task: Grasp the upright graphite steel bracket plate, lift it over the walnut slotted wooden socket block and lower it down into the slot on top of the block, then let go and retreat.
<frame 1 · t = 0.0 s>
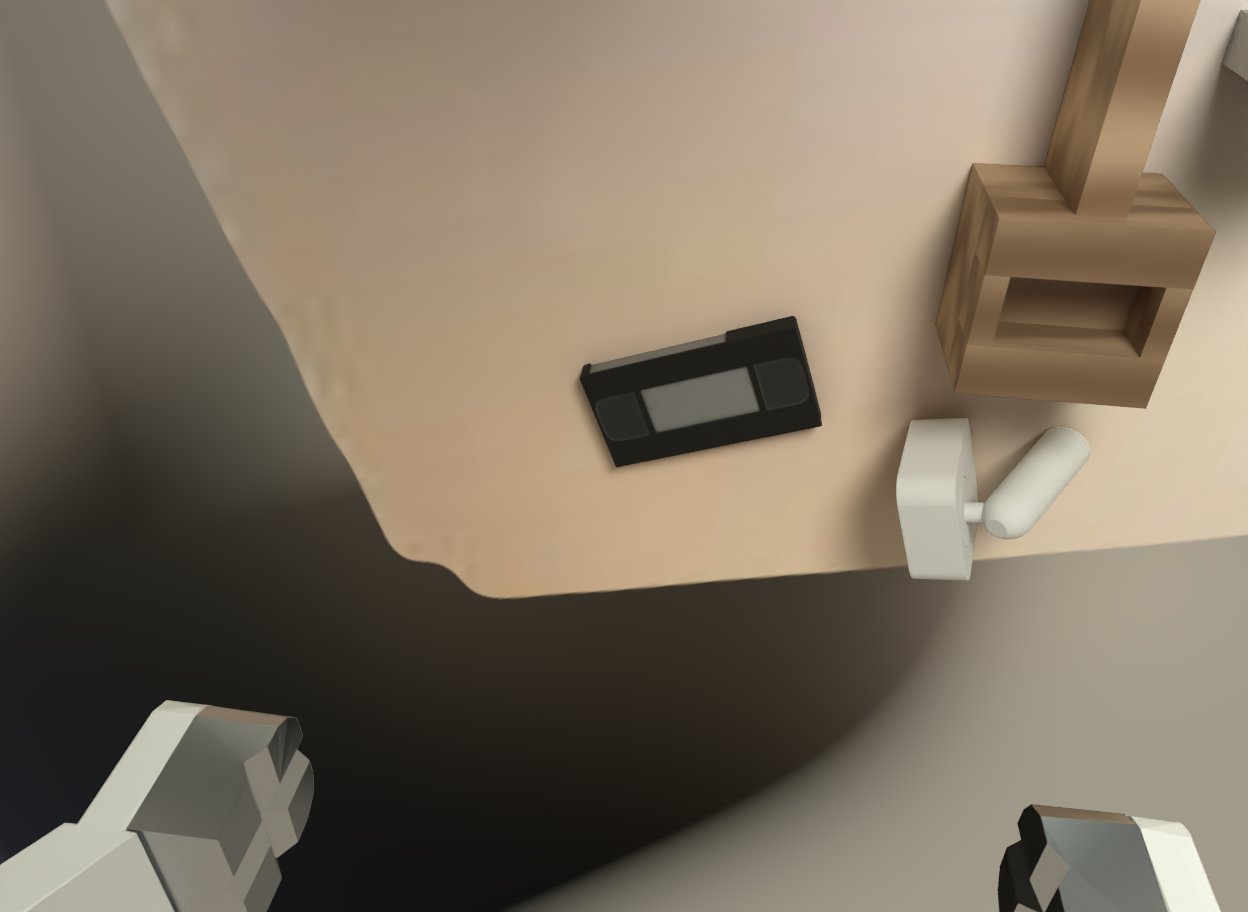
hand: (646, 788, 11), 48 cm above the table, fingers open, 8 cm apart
slotted wooden socket block: (1041, 253, 56), on the table
wall hook: (984, 448, 64), on the table
vhs tape: (702, 383, 64), on the table
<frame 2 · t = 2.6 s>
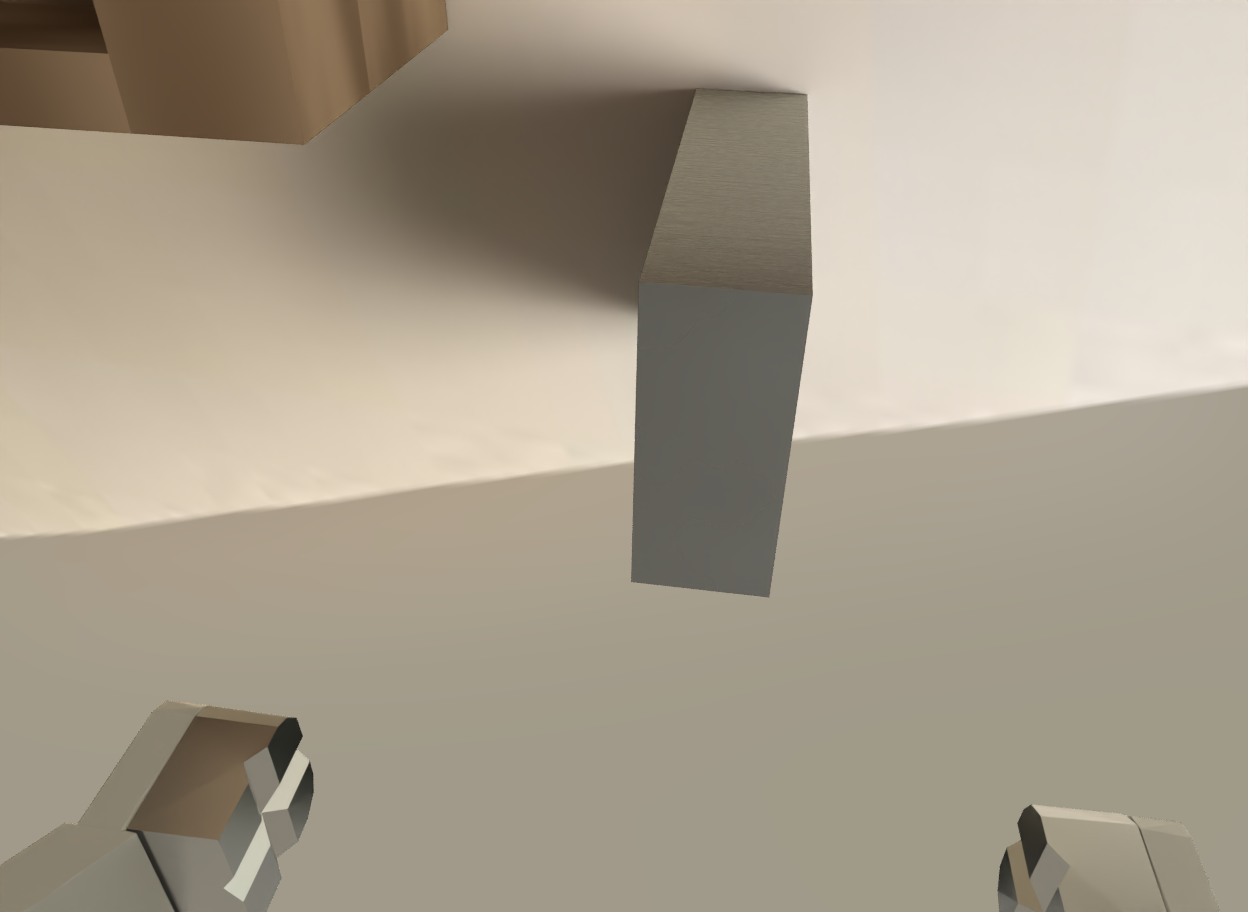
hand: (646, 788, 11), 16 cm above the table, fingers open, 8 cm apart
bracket: (740, 217, 24), on the table
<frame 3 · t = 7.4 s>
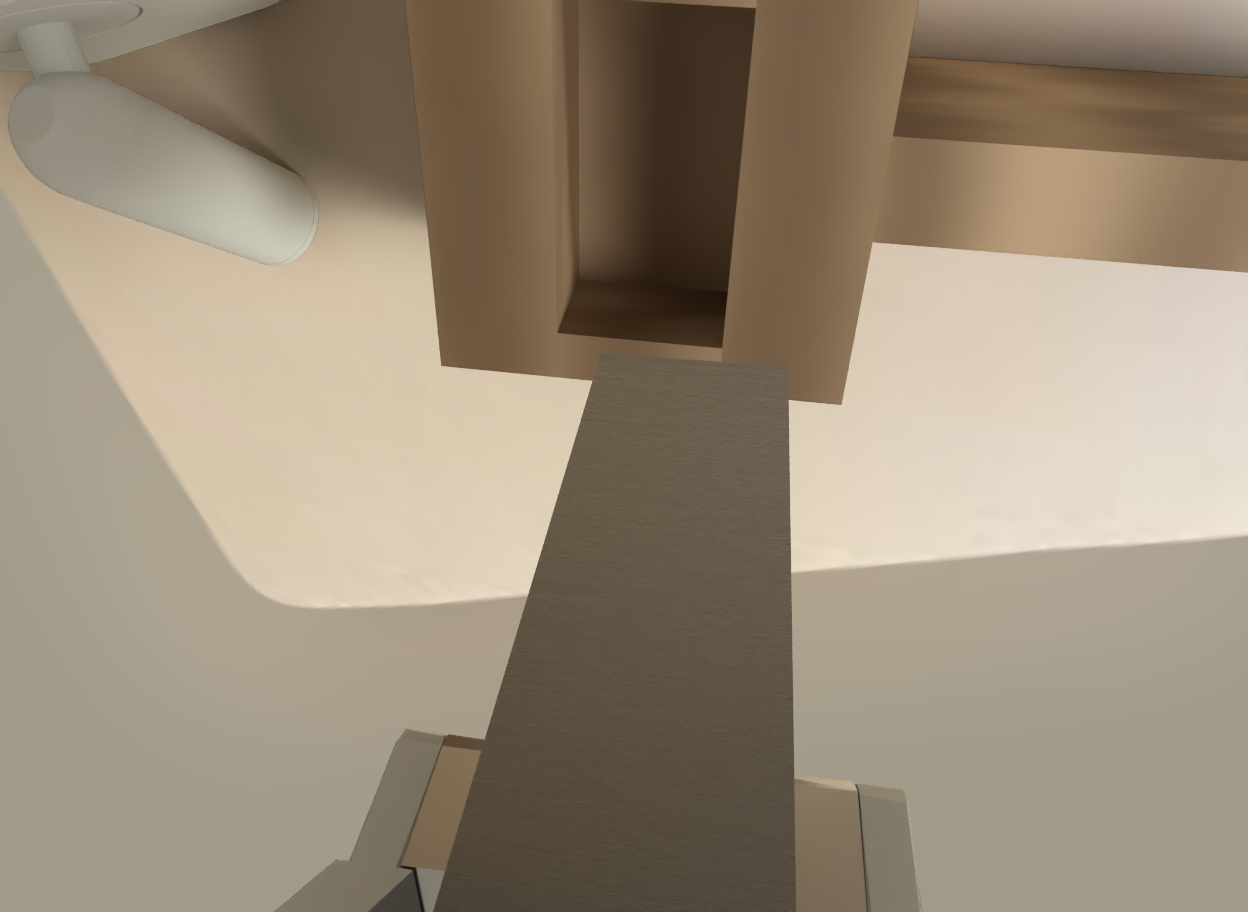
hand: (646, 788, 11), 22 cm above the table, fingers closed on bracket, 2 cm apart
slotted wooden socket block: (679, 87, 27), on the table
wall hook: (217, 53, 29), on the table
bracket: (682, 531, 15), point 17 cm above the table, touching gripper
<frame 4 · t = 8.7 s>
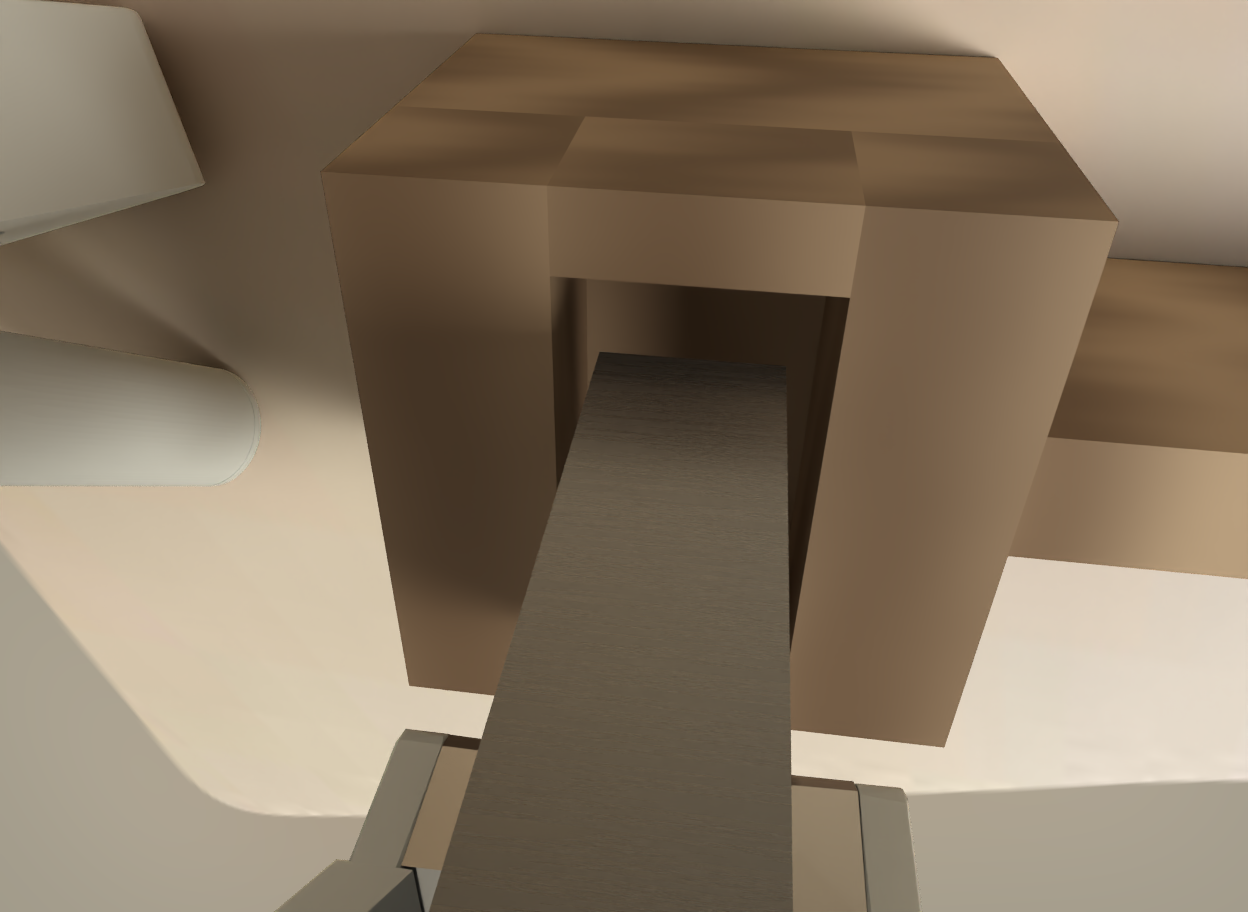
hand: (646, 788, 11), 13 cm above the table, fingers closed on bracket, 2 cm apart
slotted wooden socket block: (712, 283, 21), on the table
wall hook: (128, 236, 23), on the table
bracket: (680, 530, 15), point 9 cm above the table, touching gripper
when the fingers open (10 cm above the table, at t = 9.9 s): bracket stays where it is, resting on slotted wooden socket block.
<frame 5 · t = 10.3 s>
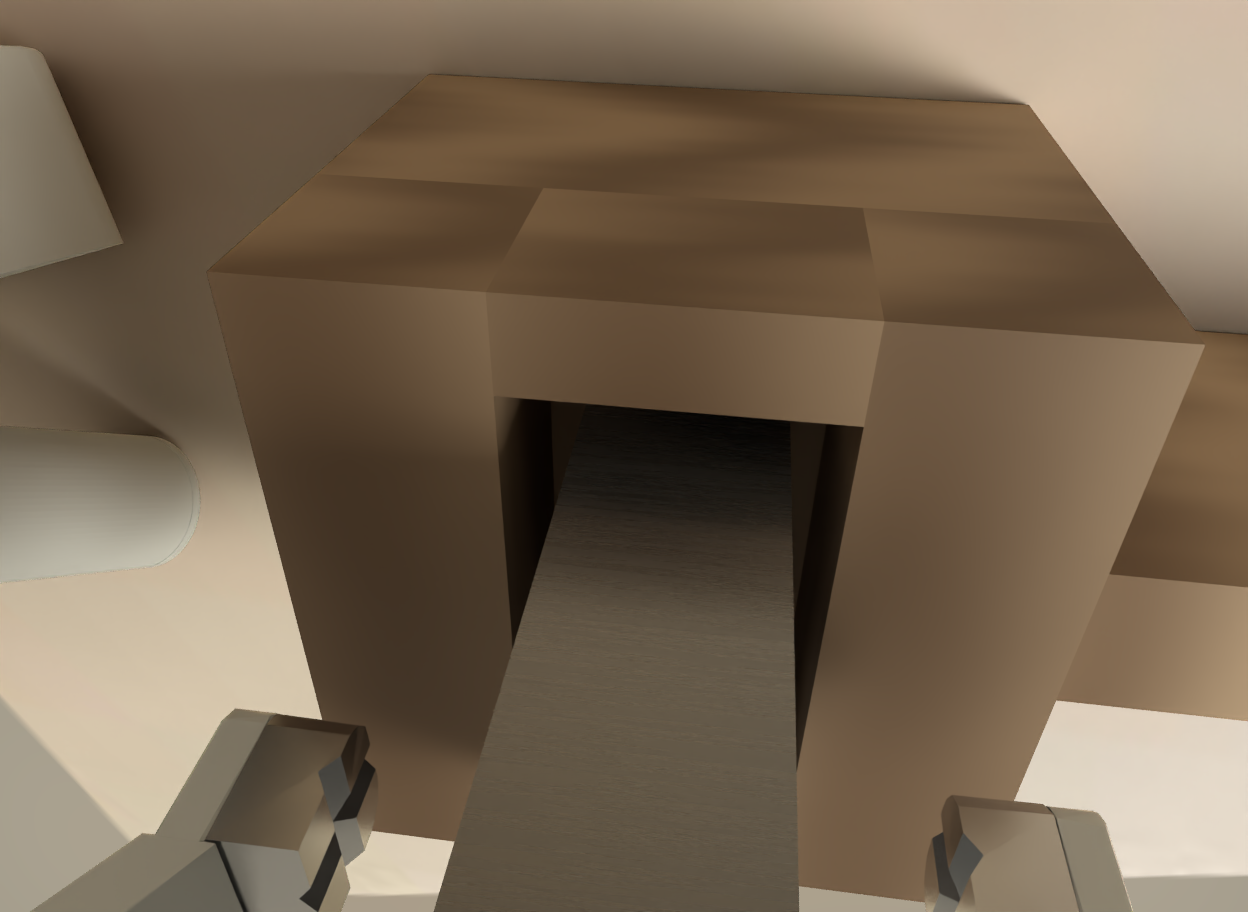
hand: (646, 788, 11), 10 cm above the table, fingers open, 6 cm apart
slotted wooden socket block: (701, 351, 19), on the table
wall hook: (48, 293, 21), on the table
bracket: (685, 510, 15), point 5 cm above the table, touching slotted wooden socket block
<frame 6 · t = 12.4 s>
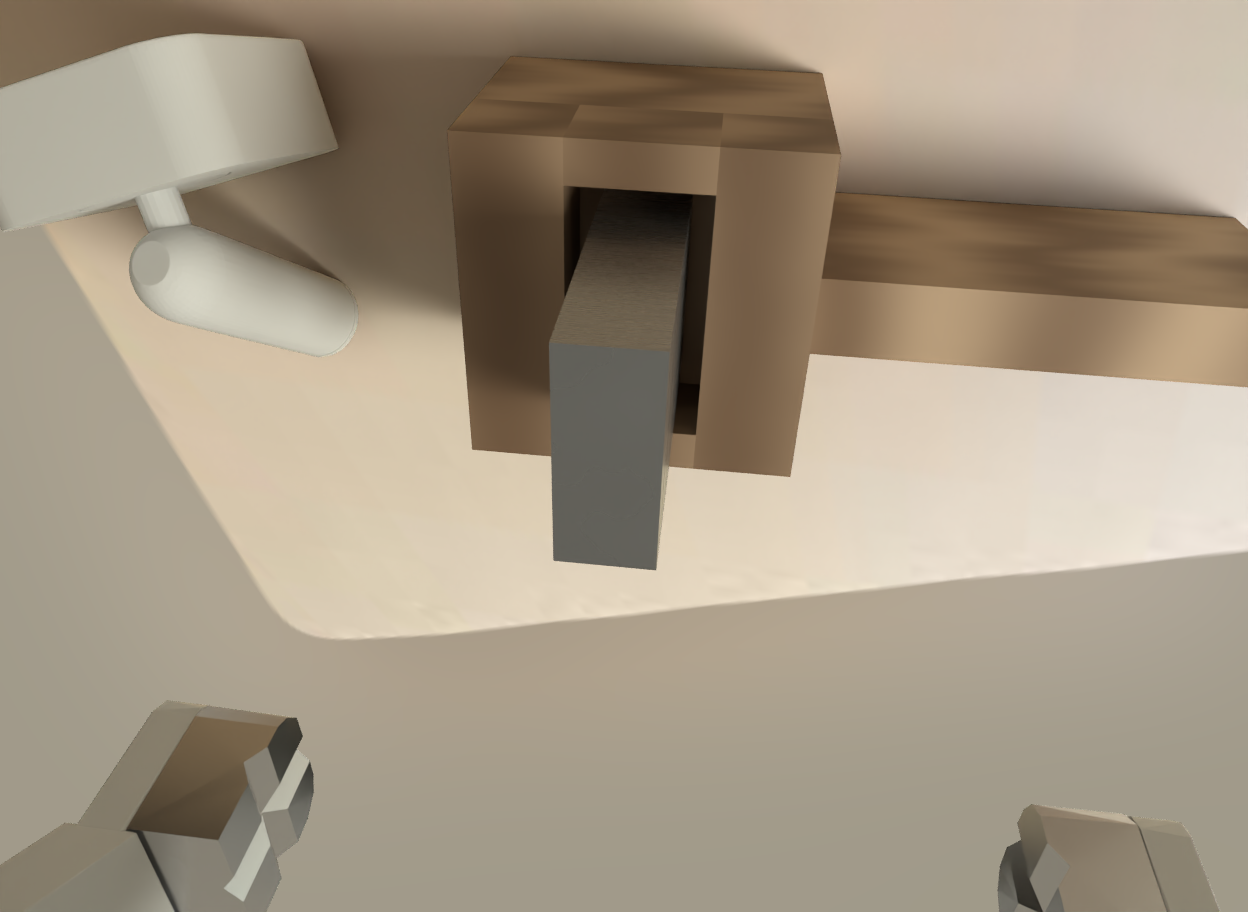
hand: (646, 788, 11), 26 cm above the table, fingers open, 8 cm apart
slotted wooden socket block: (657, 214, 34), on the table
wall hook: (274, 185, 35), on the table
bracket: (646, 276, 30), point 5 cm above the table, touching slotted wooden socket block
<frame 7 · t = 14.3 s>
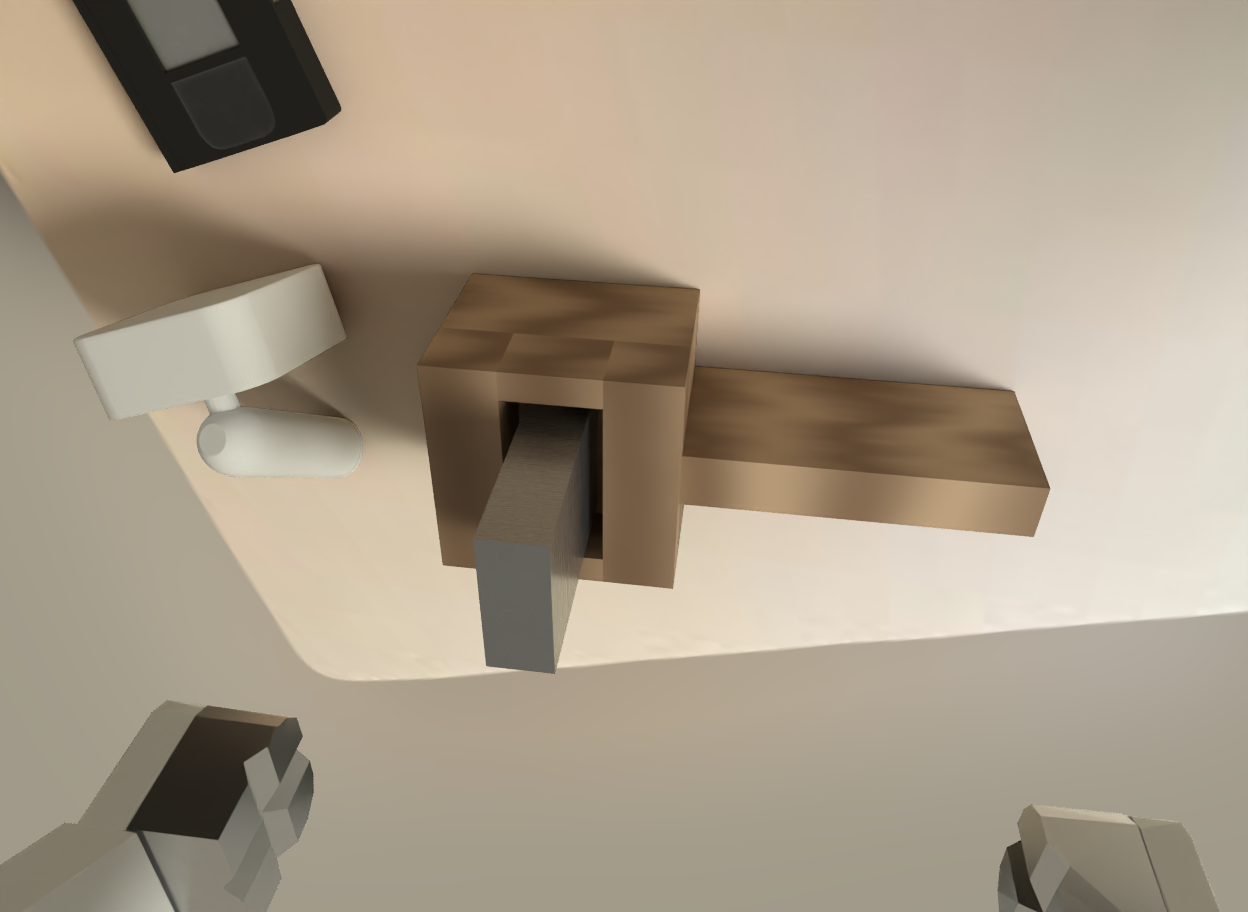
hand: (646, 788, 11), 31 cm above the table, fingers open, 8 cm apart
slotted wooden socket block: (585, 380, 45), on the table
wall hook: (299, 353, 46), on the table
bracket: (568, 442, 41), point 5 cm above the table, touching slotted wooden socket block
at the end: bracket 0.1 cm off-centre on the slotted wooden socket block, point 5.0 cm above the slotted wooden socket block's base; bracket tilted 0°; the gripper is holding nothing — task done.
